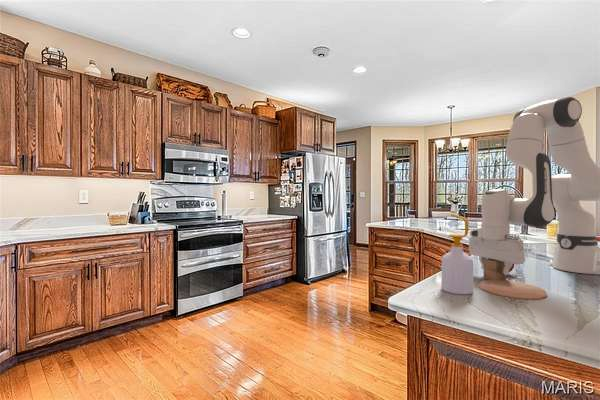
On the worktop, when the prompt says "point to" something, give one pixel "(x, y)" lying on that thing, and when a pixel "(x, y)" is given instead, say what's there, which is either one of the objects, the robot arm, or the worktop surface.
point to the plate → (512, 289)
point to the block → (493, 269)
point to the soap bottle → (457, 266)
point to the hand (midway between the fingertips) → (494, 271)
